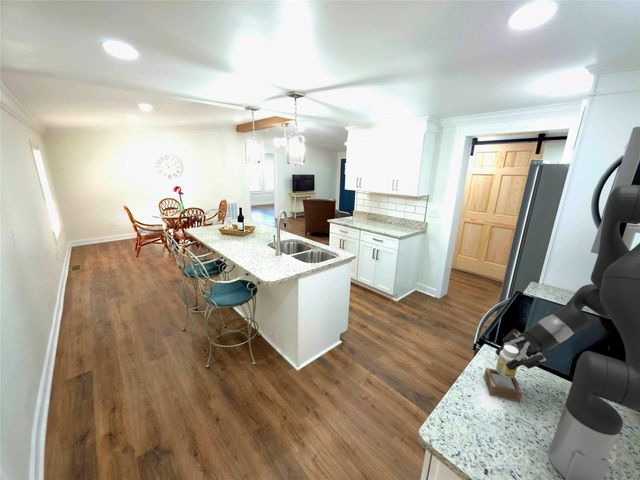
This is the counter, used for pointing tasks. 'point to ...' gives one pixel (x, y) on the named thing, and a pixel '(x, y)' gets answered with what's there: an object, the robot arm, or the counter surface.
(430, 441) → the counter surface
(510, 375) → the supplement bottle
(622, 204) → the robot arm
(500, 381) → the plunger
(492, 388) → the brown square tray
